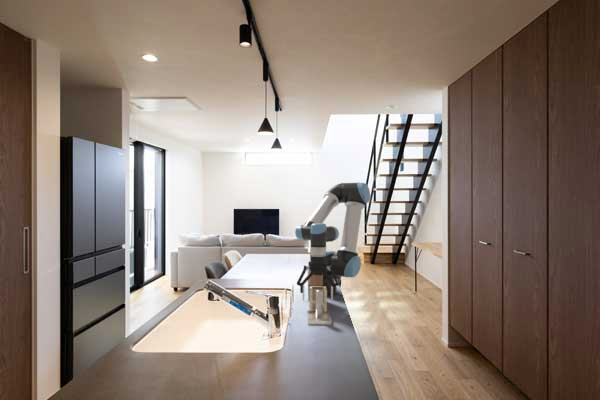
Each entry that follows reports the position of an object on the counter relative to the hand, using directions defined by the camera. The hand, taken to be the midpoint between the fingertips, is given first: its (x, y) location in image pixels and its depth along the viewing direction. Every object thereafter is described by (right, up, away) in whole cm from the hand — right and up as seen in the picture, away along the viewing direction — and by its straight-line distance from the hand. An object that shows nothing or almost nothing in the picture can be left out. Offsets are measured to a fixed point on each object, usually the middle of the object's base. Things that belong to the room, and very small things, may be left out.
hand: (317, 300), depth 175 cm
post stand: (0, -4, -17) cm, 17 cm away
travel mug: (0, -5, +15) cm, 15 cm away
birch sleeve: (0, -4, 0) cm, 4 cm away
